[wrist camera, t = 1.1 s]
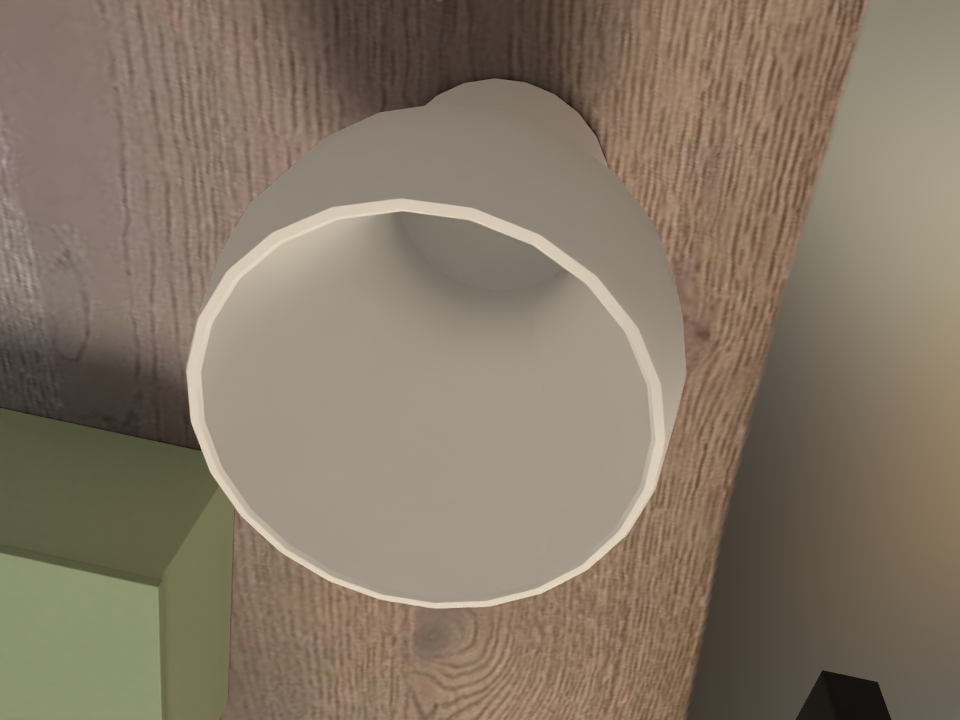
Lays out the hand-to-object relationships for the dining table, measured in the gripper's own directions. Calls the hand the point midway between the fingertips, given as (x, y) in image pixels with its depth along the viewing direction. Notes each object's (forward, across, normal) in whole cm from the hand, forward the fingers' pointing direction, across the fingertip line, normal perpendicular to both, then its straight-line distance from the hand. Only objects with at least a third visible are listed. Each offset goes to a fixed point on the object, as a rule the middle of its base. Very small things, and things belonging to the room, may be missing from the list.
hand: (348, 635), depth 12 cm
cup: (+20, 0, 0) cm, 20 cm away
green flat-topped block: (+20, -17, -22) cm, 34 cm away
